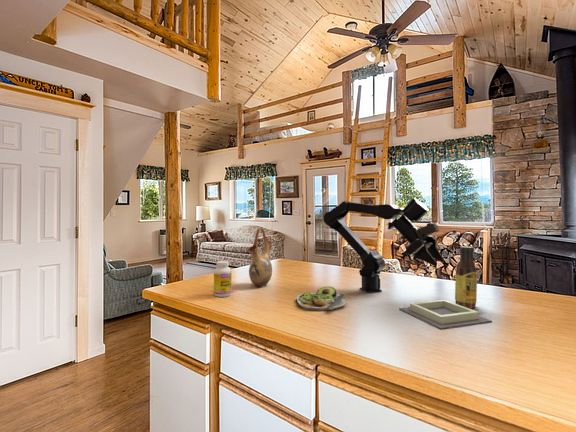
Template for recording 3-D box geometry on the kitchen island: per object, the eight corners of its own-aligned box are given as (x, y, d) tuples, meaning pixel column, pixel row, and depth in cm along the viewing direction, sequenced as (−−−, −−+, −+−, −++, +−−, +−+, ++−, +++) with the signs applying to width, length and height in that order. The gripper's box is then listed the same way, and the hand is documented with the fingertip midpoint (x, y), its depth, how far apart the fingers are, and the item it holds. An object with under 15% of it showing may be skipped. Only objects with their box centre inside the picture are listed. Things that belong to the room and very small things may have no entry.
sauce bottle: (468, 310, 102) (468, 248, 102) (450, 305, 108) (451, 246, 107) (481, 307, 105) (481, 247, 105) (463, 302, 111) (463, 245, 110)
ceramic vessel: (261, 280, 147) (261, 226, 146) (279, 282, 143) (278, 226, 142) (241, 288, 132) (240, 228, 131) (259, 291, 128) (259, 229, 127)
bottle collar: (441, 324, 89) (441, 316, 89) (409, 309, 102) (409, 303, 102) (478, 318, 93) (478, 312, 93) (444, 305, 106) (444, 299, 106)
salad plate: (355, 313, 101) (355, 299, 101) (298, 315, 100) (298, 300, 100) (342, 297, 120) (342, 284, 120) (295, 297, 119) (295, 285, 119)
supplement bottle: (219, 298, 118) (219, 263, 118) (210, 295, 123) (210, 261, 123) (235, 295, 123) (234, 261, 122) (226, 291, 128) (225, 259, 127)
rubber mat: (440, 329, 86) (440, 327, 86) (399, 309, 104) (399, 308, 104) (492, 321, 92) (492, 320, 92) (444, 304, 109) (444, 302, 109)
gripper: (415, 215, 107) (451, 251, 100) (431, 214, 122) (463, 245, 115) (392, 237, 112) (425, 272, 105) (410, 234, 127) (440, 264, 120)
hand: (439, 263), depth 111 cm, fingers open, 9 cm apart
